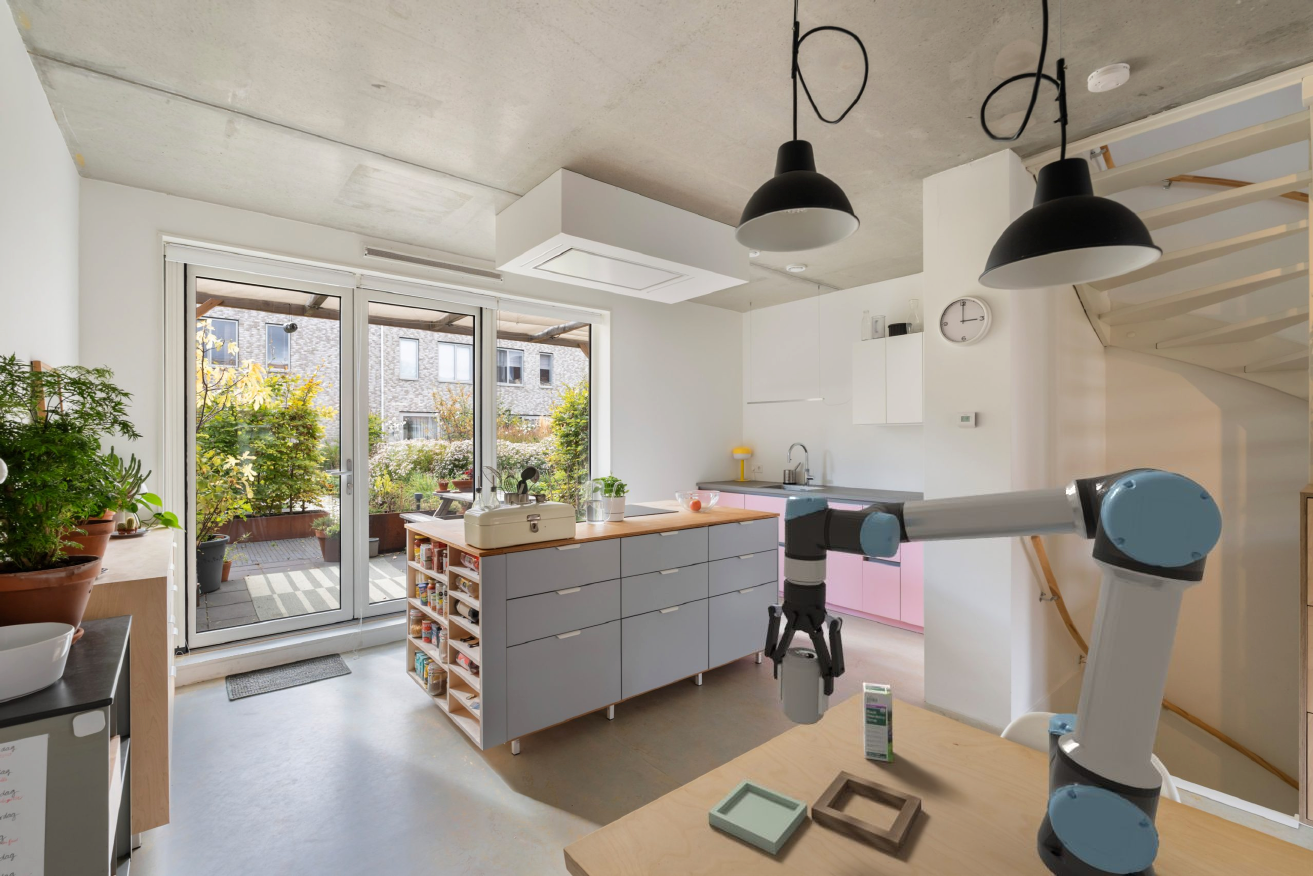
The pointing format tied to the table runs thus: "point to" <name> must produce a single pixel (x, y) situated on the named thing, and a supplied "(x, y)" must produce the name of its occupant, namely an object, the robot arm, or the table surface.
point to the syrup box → (877, 722)
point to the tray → (758, 815)
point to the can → (801, 685)
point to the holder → (859, 828)
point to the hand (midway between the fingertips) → (802, 704)
